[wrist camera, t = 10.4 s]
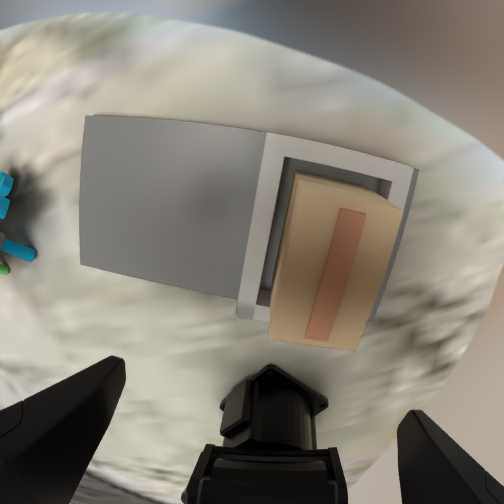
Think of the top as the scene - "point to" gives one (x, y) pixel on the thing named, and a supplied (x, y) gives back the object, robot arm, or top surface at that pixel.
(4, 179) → the gear
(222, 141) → the gray plate
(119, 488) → the top surface
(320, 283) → the cardboard box
